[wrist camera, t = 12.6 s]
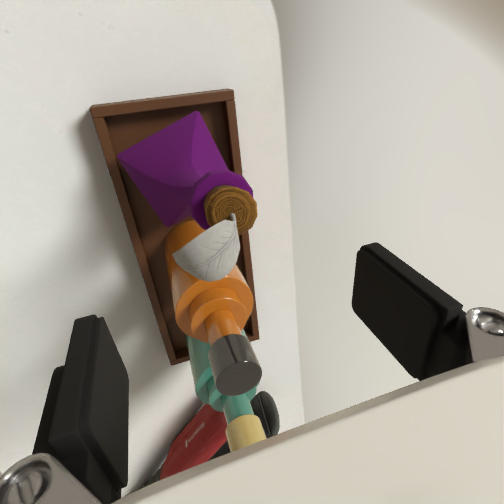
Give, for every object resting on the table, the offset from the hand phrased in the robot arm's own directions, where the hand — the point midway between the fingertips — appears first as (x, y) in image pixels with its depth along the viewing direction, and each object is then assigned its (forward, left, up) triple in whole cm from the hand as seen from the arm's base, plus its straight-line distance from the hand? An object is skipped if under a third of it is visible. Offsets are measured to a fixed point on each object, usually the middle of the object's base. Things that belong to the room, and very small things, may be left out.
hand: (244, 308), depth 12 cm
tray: (+7, +7, -23) cm, 25 cm away
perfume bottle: (0, 0, -23) cm, 23 cm away
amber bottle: (+7, +7, -22) cm, 24 cm away
